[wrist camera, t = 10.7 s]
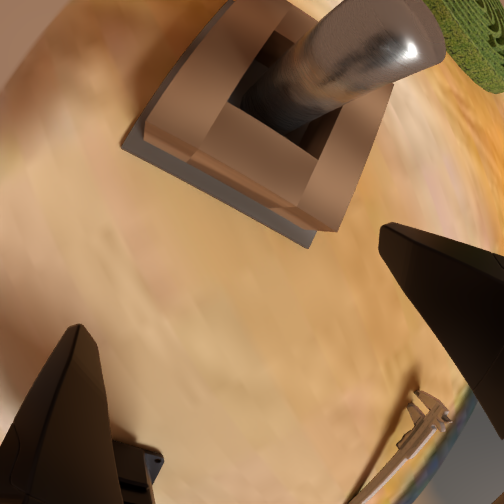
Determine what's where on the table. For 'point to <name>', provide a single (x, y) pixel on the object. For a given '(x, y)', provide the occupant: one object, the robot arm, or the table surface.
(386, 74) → the steel pin
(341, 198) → the socket block
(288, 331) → the table surface
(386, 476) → the caliper
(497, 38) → the maze
